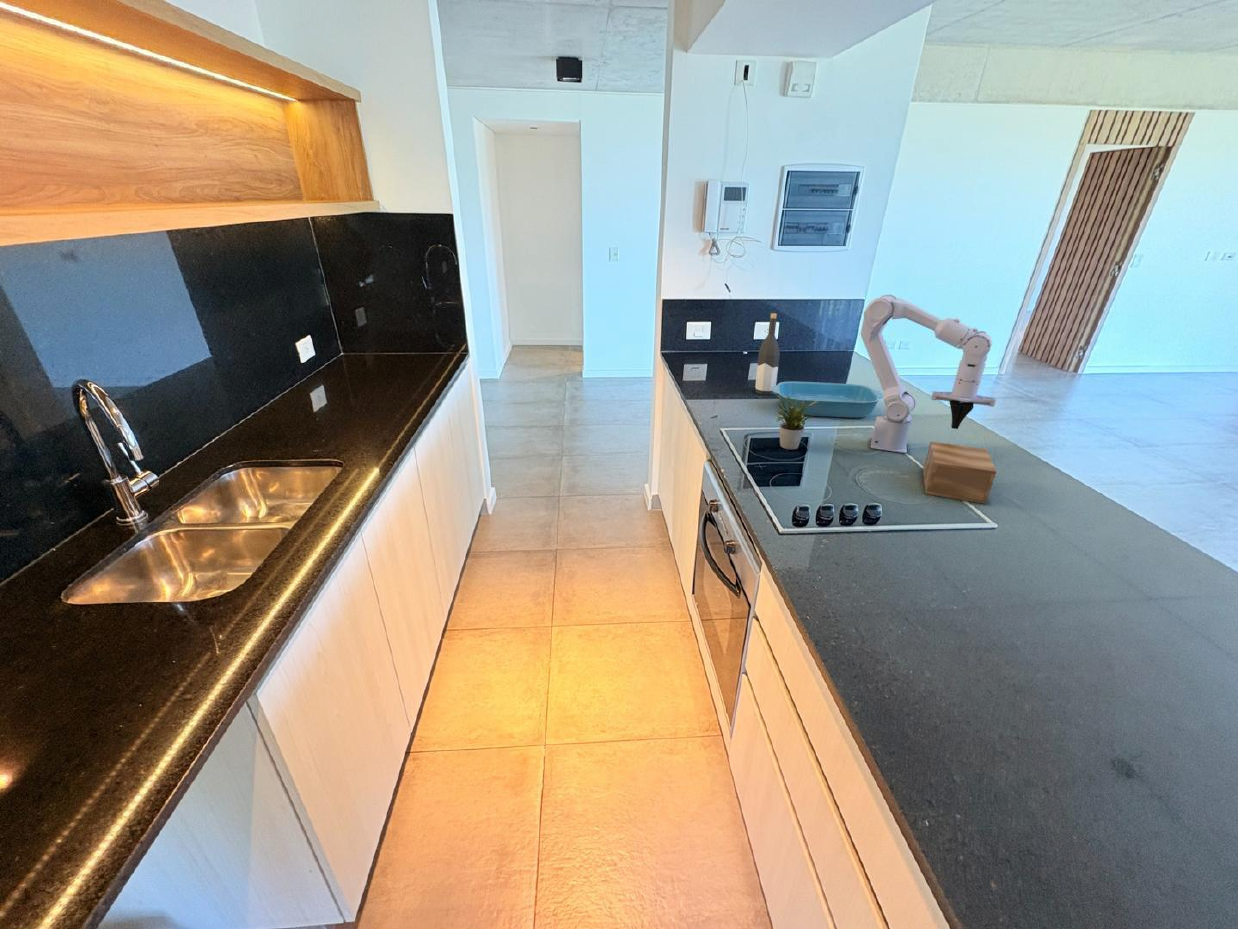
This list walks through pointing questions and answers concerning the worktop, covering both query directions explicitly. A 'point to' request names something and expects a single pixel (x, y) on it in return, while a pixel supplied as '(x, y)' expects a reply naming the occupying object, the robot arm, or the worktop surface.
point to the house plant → (792, 424)
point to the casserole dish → (829, 398)
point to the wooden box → (958, 472)
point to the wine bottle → (768, 361)
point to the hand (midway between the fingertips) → (954, 427)
